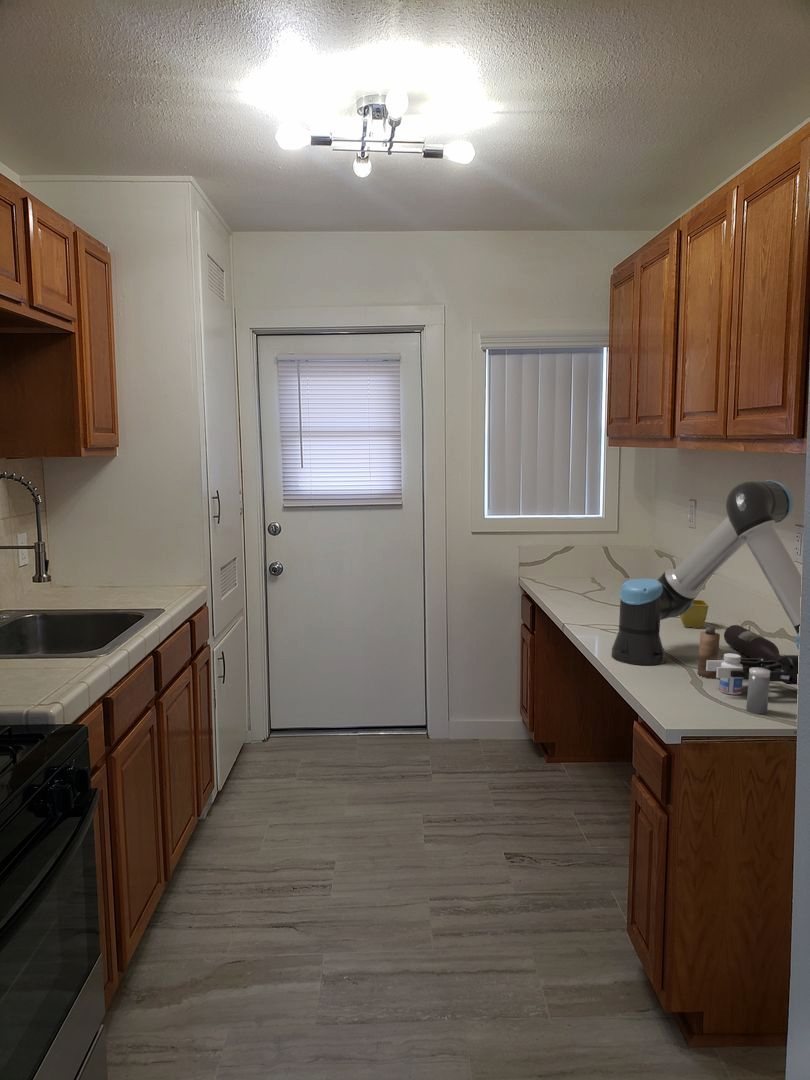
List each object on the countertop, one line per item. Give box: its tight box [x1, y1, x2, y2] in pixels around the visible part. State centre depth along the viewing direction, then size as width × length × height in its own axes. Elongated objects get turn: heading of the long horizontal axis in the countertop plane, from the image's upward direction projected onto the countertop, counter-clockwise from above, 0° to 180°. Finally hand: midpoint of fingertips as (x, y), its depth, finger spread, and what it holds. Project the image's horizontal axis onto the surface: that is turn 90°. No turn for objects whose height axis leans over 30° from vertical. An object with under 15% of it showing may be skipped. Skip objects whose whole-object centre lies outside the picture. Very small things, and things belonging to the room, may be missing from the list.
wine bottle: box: [723, 624, 784, 662], centre depth 229 cm, size 7×7×30 cm
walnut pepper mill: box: [697, 626, 721, 679], centre depth 211 cm, size 5×5×14 cm
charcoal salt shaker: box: [745, 667, 770, 715], centre depth 183 cm, size 5×5×10 cm
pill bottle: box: [719, 652, 744, 696], centre depth 197 cm, size 6×5×10 cm
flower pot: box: [679, 599, 709, 629], centre depth 269 cm, size 9×9×9 cm
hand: (712, 669), depth 197 cm, fingers closed on pill bottle, 5 cm apart
